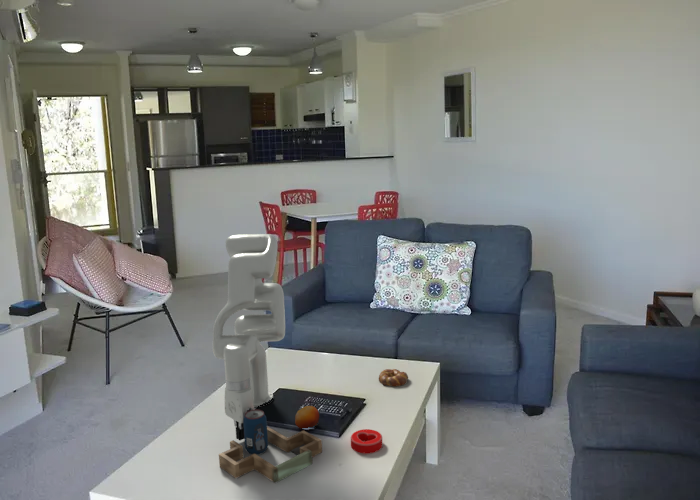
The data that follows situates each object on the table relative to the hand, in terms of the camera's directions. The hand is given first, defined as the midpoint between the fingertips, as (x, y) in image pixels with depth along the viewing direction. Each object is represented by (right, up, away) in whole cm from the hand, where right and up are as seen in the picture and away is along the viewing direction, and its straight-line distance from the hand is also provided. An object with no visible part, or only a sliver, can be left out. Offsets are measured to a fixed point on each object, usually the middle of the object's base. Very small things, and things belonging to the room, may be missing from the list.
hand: (242, 438), depth 193 cm
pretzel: (+50, +8, +42) cm, 66 cm away
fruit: (+20, +1, +8) cm, 22 cm away
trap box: (+10, -3, -10) cm, 15 cm away
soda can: (+5, -2, -5) cm, 8 cm away
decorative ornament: (+39, -1, -4) cm, 39 cm away
